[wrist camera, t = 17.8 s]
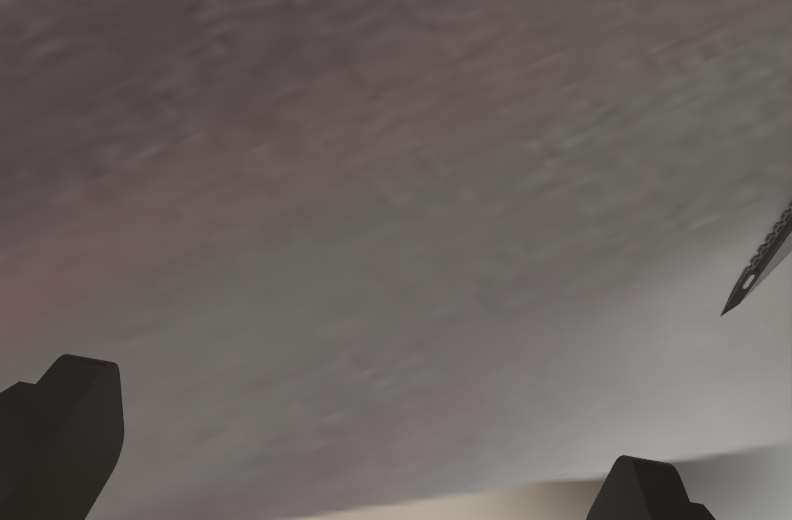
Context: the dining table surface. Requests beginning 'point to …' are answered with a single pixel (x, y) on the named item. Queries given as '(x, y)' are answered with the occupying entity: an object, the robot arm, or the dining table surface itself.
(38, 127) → the dining table surface
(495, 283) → the dining table surface
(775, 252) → the knife
